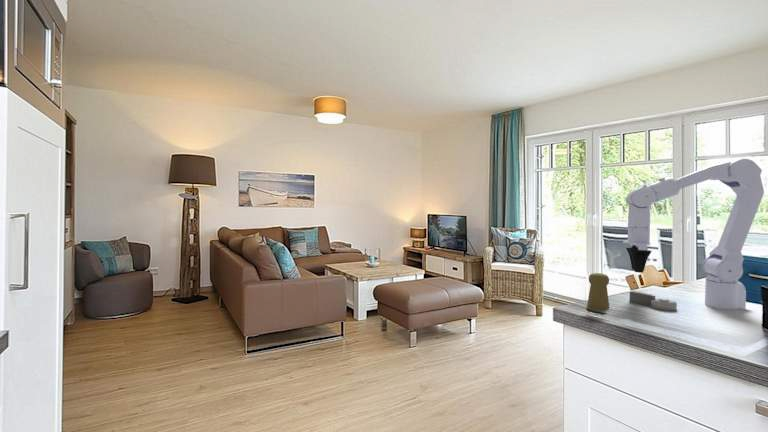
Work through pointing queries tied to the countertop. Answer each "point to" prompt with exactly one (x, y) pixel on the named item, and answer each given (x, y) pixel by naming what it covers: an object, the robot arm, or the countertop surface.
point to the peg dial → (652, 301)
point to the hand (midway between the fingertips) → (637, 271)
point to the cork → (598, 292)
